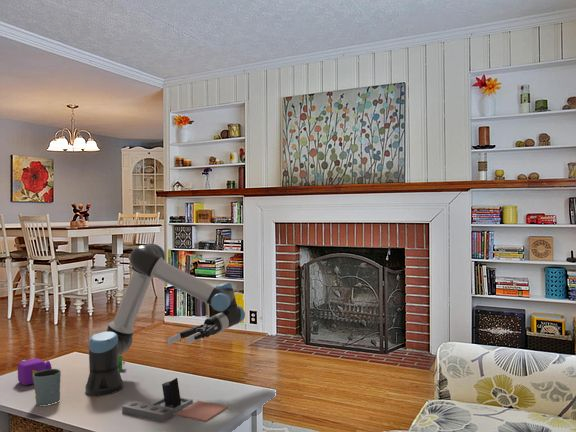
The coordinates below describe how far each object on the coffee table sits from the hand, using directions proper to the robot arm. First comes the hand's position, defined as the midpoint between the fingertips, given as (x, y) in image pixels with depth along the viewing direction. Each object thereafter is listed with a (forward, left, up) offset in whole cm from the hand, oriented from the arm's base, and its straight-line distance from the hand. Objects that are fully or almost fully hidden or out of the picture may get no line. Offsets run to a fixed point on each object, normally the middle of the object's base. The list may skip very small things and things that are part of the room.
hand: (177, 341), depth 199 cm
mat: (+17, -7, -23) cm, 30 cm away
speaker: (+2, -7, -23) cm, 24 cm away
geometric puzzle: (-51, +17, -23) cm, 58 cm away
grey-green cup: (-46, -25, -23) cm, 57 cm away
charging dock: (0, -11, -23) cm, 25 cm away
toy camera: (-74, -10, -23) cm, 78 cm away
